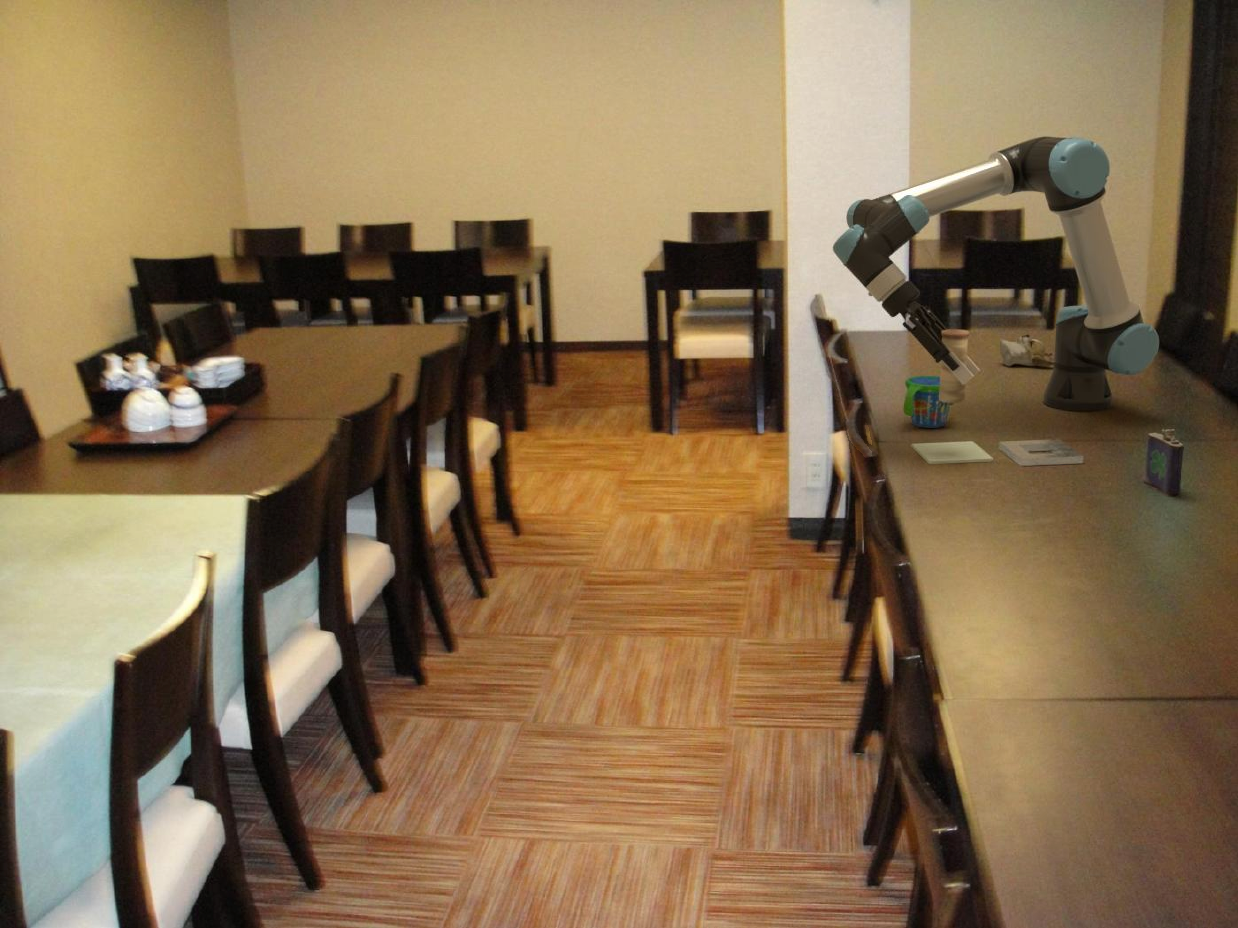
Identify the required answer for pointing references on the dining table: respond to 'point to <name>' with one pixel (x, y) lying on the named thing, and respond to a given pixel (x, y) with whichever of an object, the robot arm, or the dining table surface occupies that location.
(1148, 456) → the flask
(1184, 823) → the dining table surface
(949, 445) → the mat
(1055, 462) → the socket
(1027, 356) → the ceramic sculpture
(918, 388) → the snack cup
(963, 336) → the plug
